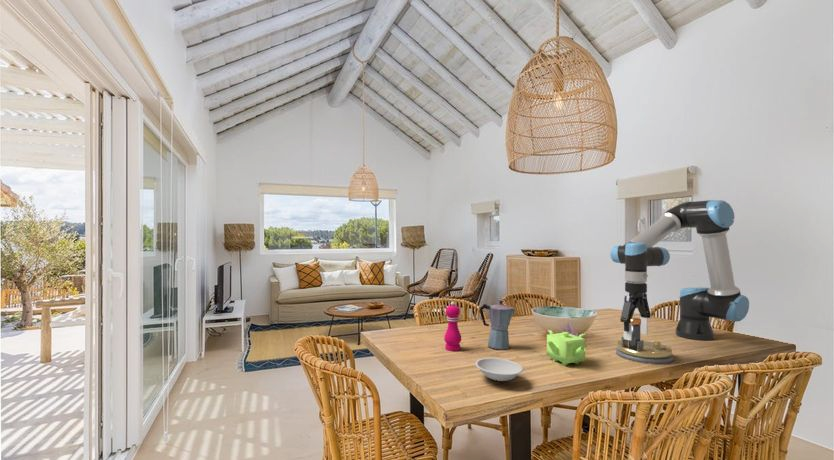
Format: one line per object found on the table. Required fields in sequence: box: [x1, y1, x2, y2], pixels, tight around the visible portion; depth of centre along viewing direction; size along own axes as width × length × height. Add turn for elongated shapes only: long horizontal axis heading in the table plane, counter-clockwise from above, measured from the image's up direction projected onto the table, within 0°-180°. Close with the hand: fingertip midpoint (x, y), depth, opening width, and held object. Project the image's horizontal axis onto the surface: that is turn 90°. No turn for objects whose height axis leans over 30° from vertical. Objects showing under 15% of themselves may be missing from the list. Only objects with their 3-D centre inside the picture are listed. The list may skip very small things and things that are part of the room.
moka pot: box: [479, 300, 517, 351], centre depth 175 cm, size 10×15×20 cm, turn 78°
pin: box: [629, 317, 641, 351], centre depth 160 cm, size 4×4×12 cm
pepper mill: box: [443, 301, 462, 352], centre depth 173 cm, size 7×7×20 cm
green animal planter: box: [546, 329, 587, 366], centre depth 156 cm, size 15×14×11 cm
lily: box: [559, 321, 579, 337], centre depth 177 cm, size 12×12×10 cm
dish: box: [475, 357, 524, 382], centre depth 137 cm, size 18×14×5 cm
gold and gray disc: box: [616, 336, 673, 359], centre depth 164 cm, size 19×19×6 cm
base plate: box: [615, 347, 674, 365], centre depth 164 cm, size 20×20×2 cm
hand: (635, 336), depth 159 cm, fingers open, 13 cm apart
